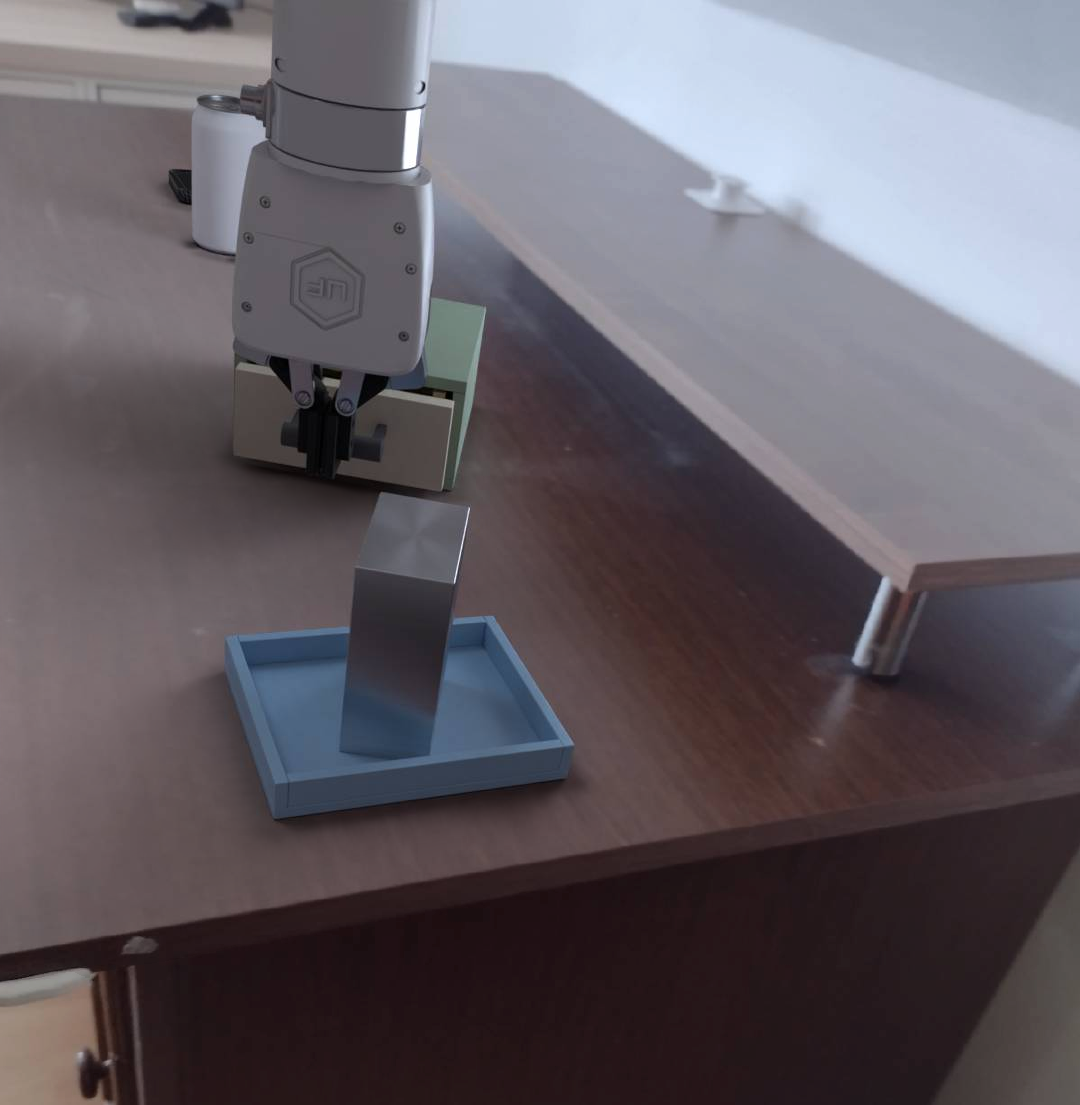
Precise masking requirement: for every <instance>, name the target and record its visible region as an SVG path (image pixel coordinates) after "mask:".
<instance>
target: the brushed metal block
mask: <svg viewBox="0 0 1080 1105" xmlns="http://www.w3.org/2000/svg"><path fill="white" fill-rule="evenodd" d="M470 512H471V507H469V506H466V505H465V506H464V505H460V504H453V503H447V502H442V501H437V500H430V499H425V498H420V497H413V496H407V495H403V494H402V495H401V494H396V493H390V492H384V491H380V492H379V494H378V497H377V501H376V504H375V507H374V509H373V513H372V515H371V519H370V521H369V524H368V527H367V530H366V533H365V536H364V539H363V542H362V545H361V548H360V551H359V553H358V556H357V560H356V562H355V566H354V574H353V585H352V595H351V596H352V597H351V606H350V618H349V626H350V629H349V640H348V652H347V663H346V674H345V686H344V697H343V708H342V720H341V731H340V742H339V751H342V752H348V753H354V754H360V755H367V756H373V757H379V758H385V759H392V760H399V759H407V758H415V757H423V756H430V753H431V747H432V742H433V737H434V731H435V726H436V721H437V716H438V710H439V705H440V700H441V695H442V689H443V684H444V678H445V672H446V665H447V658H448V652H449V645H450V638H451V632H452V625H453V619H454V618H455V611H456V605H457V600H458V592H459V585H460V584H459V583H460V577H461V571H462V565H463V558H464V551H465V544H466V538H467V532H468V525H469V518H470Z"/></svg>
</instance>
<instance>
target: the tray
mask: <svg viewBox="0 0 1080 1105" xmlns="http://www.w3.org/2000/svg"><path fill="white" fill-rule="evenodd" d="M349 629H350V625H349V626H338V627H325V628H312V629H301V630H300V629H299V630H287V631H275V632H273V631H272V632H260V633H250V634H249V633H247V634H238V635H226V636H225V637H224V673H225V675H226V678H227V681H228V684H229V688H230V690H231V691H230V692H231V694H232V697H233V700H234V703H235V706H236V709H237V712H238V715H239V718H240V721H241V724H242V727H243V730H244V733H245V736H246V739H247V743H248V746H249V749H250V752H251V755H252V757H253V761H254V764H255V766H256V770H257V774H258V776H259V779H260V782H261V785H262V788H263V791H264V794H265V797H266V801H267V803H268V806H269V810H270V813H271V815H272V818H273V820H279V819H286V818H293V817H294V818H295V817H300V816H301V817H302V816H308V815H315V814H323V813H331V812H337V811H344V810H351V809H358V808H364V807H365V808H367V807H371V806H380V805H386V804H393V803H401V802H408V801H415V800H422V799H429V798H437V797H442V796H450V795H456V794H464V793H471V792H472V793H473V792H479V791H484V790H485V791H486V790H487V791H488V790H493V789H500V788H508V787H515V786H522V785H528V784H534V783H542V782H549V781H555V780H556V781H557V780H565V779H568V776H569V775H568V774H569V772H570V771H569V770H570V767H571V763H572V758H573V754H574V749H575V743H574V742H573V740H572V738H571V737H570V735H569V734H568V732H567V731H566V729H565V728H564V726H563V724H562V723H561V721H560V720H559V718H558V717H557V715H556V714H555V712H554V711H553V709H552V707H551V705H550V704H549V702H548V701H547V699H546V698H545V696H544V694H543V693H542V691H541V689H540V688H539V686H538V685H537V683H536V682H535V680H534V678H533V677H532V675H531V674H530V672H529V671H528V669H527V667H526V666H525V664H524V662H523V661H522V660H521V658H520V657H519V655H518V653H517V652H516V650H515V648H514V647H513V645H512V643H511V642H510V641H509V639H508V637H507V636H506V634H505V632H504V631H503V630H502V627H501V626H500V625H499V623H498V622H497V620H496V618H495V617H494V616H493V615H478V616H477V615H476V616H466V617H464V616H463V617H454V619H453V625H452V632H451V638H450V645H449V652H448V658H447V665H446V672H445V678H444V684H443V689H442V695H441V700H440V705H439V710H438V716H437V721H436V726H435V731H434V737H433V742H432V747H431V753H430V756H423V757H415V758H407V759H399V760H392V759H385V758H379V757H373V756H367V755H360V754H354V753H348V752H342V751H339V742H340V731H341V720H342V708H343V697H344V686H345V674H346V663H347V652H348V640H349Z"/></svg>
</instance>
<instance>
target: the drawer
mask: <svg viewBox="0 0 1080 1105" xmlns="http://www.w3.org/2000/svg"><path fill="white" fill-rule="evenodd" d="M341 376H342V371H336V370H331V369H325V368H323V379H324V385H325V386H326V387H327V391H329V396H331V397H332V398H333V396H334V394H335V392H336V390H337V389H338V388H339V384H340V380H341ZM452 399H453V392H452V391H446V390H441V389H435V388H430V387H424V386H423V387H421V388H419V389H404V390H392V389H386V390H383V391H382V392H380V393H379V394H377V395H376V396H375V397H373V398H372V399H370V400H369V401H368V402H366V403H365V404H363V405H362V406H361V407H359V408H358V409H356V420H355V432H354V444H353V451H352V456H351V459H350V461H344V460H341V462H340V465H339V467H338V469H337V472H336V474H338V475H342V476H347V477H348V476H349V477H353V478H354V477H355V478H359V479H360V478H361V479H365V480H370V481H371V480H372V481H376V482H381V483H387V484H388V483H389V484H393V485H399V486H404V487H410V488H416V489H422V490H428V491H434V492H438V493H441V492H442V491H443V489H442V488H443V484H444V476H445V469H446V461H447V454H448V446H449V439H450V431H451V424H452V416H453V409H454V401H452ZM233 408H234V407H233ZM298 425H299V407H298V406H297V405H296V404H295V403H294V401H293V396H292V393H291V392H290V391H289V390H288V388H287V387H286V386H285V385H284V384H283V383H282V381H281V380H280V379H279V378H278V377H277V375H276V374H275V373H274V372H273V371H272V369H271V368H269V367H267V366H265V367H264V366H262V365H260V364H257V363H256V365H254V364H248V363H243V362H240V363H239V364H238V366H237V367H236V369H235V408H234V452H233V456H235V457H240V458H246V459H252V460H258V461H261V462H262V461H263V462H268V463H275V464H279V465H284V466H285V465H286V466H292V467H297V468H303V469H306V456H307V454H305V453H299V452H298V451H297V444H298ZM320 472H321V470H320ZM336 474H335V475H336Z"/></svg>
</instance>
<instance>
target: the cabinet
mask: <svg viewBox="0 0 1080 1105" xmlns="http://www.w3.org/2000/svg"><path fill="white" fill-rule="evenodd" d="M486 312H487V307H486V306H482V305H476V304H471V303H465V302H460V301H454V300H449V299H445V298H439V297H433V296H432V298H431V311H430V320H429V327H428V332H427V336H426V339H425V342H424V346H425V353H426V361H427V369H428V376H427V379H426V382H425V384H424V387H430V388H435V389H441V390H446V391H452V392H453V399H452V401H454V409H453V416H452V424H451V431H450V439H449V446H448V454H447V461H446V469H445V476H444V484H443V488H442V490H445V491H450V492H451V491H454V486H455V481H456V478H457V473H458V469H459V464H460V460H461V455H462V452H463V447H464V444H465V443H464V442H465V439H466V434H467V431H468V426H469V421H470V417H471V412H472V408H473V403H474V395H475V388H476V381H477V376H478V375H477V374H478V367H479V361H480V355H481V354H480V353H481V348H482V347H481V346H482V339H483V332H484V326H485V318H486ZM233 354H234V355H233V356H234V357H233V411H232V412H233V415H232V453H234V408H235V369H236V367H237V366H238V364H239V363H240V362H243V363H248V364H254V365H256V363H255V362H253V361H250V360H248V359H246V358H243V357H241V356H239V355H237V354H236V353H235V352H234V353H233ZM322 368H325V369H331V370H336V371H342V372H343V369H340V368H335V367H329V366H324V365H322Z"/></svg>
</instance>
